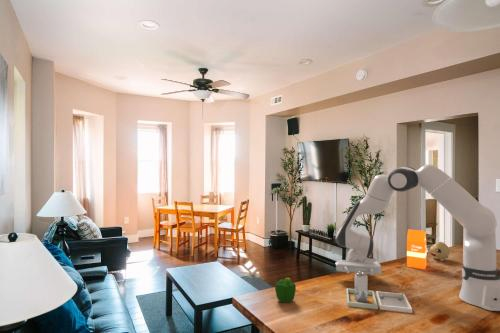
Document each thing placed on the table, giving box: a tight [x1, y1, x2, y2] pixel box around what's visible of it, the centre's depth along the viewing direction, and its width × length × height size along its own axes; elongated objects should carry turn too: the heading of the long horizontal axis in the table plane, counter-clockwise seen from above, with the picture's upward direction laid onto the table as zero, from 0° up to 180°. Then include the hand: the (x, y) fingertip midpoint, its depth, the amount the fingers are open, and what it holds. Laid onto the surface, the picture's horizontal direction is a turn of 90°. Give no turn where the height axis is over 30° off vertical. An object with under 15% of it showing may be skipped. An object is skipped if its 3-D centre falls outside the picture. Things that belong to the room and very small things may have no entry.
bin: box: [346, 287, 379, 310], centre depth 127 cm, size 11×14×3 cm
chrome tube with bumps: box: [354, 271, 369, 303], centre depth 127 cm, size 5×5×12 cm
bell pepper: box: [274, 277, 297, 303], centre depth 130 cm, size 8×8×10 cm
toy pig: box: [426, 241, 451, 262], centre depth 183 cm, size 10×12×11 cm
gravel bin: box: [375, 290, 413, 314], centre depth 124 cm, size 11×14×3 cm
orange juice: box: [406, 228, 428, 270], centre depth 173 cm, size 8×9×20 cm
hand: (359, 272), depth 139 cm, fingers open, 8 cm apart
